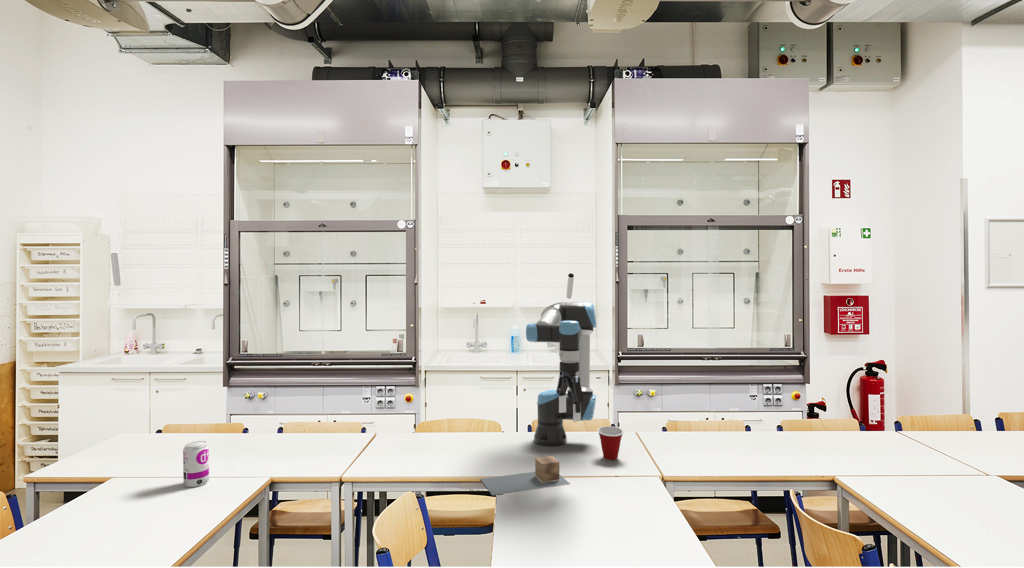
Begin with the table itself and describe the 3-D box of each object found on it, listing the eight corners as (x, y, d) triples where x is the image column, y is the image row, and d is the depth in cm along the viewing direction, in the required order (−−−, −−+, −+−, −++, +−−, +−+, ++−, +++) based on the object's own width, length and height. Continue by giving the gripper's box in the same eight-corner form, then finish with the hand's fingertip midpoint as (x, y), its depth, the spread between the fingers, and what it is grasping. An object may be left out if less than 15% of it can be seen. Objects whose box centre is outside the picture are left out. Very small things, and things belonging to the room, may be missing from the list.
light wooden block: (552, 474, 211) (552, 456, 211) (559, 480, 204) (559, 461, 204) (535, 476, 209) (535, 458, 209) (542, 482, 202) (541, 464, 202)
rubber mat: (553, 470, 216) (553, 469, 216) (570, 484, 201) (570, 484, 201) (480, 479, 207) (480, 478, 207) (492, 495, 191) (492, 494, 191)
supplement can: (214, 481, 207) (213, 441, 207) (195, 489, 199) (194, 448, 199) (197, 478, 209) (197, 439, 209) (178, 486, 202) (177, 446, 201)
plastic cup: (600, 462, 224) (600, 433, 224) (595, 454, 235) (595, 426, 234) (626, 462, 225) (626, 433, 224) (620, 453, 235) (619, 425, 235)
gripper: (548, 357, 220) (548, 409, 220) (573, 366, 196) (574, 425, 196) (565, 356, 222) (565, 408, 222) (592, 365, 198) (592, 424, 199)
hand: (569, 416), depth 209 cm, fingers open, 13 cm apart
